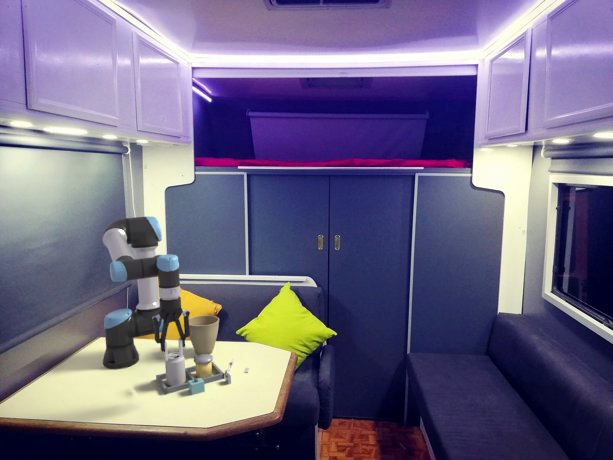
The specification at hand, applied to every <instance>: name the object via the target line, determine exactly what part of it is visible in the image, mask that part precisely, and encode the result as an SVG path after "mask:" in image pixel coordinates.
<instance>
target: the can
mask: <svg viewBox="0 0 613 460" xmlns="http://www.w3.org/2000/svg"><path fill="white" fill-rule="evenodd" d="M164 365H165V373H166V379H165V380H166V382H165V383H166V384H167V385H168V387H172V386H176V385H179V384H183V383H186V380H187V379H186V378H187V376H186V374H185V368H186V361H185V356H184V355H183V357H181V356H180V355H179V351H177V352H176V351H175V352H171V353H168V361H166V360H165V359H164Z"/></svg>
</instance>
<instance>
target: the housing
mask: <svg viewBox="0 0 613 460" xmlns="http://www.w3.org/2000/svg"><path fill="white" fill-rule="evenodd" d="M211 363H212V371H214V372H215V373H216V374H214V375H212V376H210V377H206V378H202V380H203V381H204V385H206V384H210V383H214V382H217V381H221V380H225V373H224V372H223V370H221V369H220V368H219V367H218V365H217V364H216V363H215V362H214V361H211ZM192 373H196V365H193V366H189V367H185V374H186V378H187V379H188V381H190V380H194V378H195V377H194V376H193V374H192ZM155 378H156V382H157V384H158V385H159V387H160V388H161V389H162V391H163V394H165V395H168V394H173V393H176V392H180V391H184V390H187V389H188V390H189V384H188V381H187V382H184V383H183V384H179V385H176V386H168V387H167V386H166V384H165V383H164V381H163V380H166V372H165V373H161V374H157V375H155Z"/></svg>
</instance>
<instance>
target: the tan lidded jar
mask: <svg viewBox="0 0 613 460" xmlns="http://www.w3.org/2000/svg"><path fill="white" fill-rule="evenodd" d="M213 359H214V357H213V355H212V354H201V355H196V356H195V357H193V362H194V364H195V366H196V371H195V374H196V375H195V378H206V377H210V376H213V369H212V363H211V362H213Z"/></svg>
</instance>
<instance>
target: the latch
mask: <svg viewBox="0 0 613 460" xmlns="http://www.w3.org/2000/svg"><path fill="white" fill-rule="evenodd" d="M187 382H188V384H189V388H188V391H189V393H190V394H191V395H192V396H193V395H197V394H200V393H205V392H206V390H205V387H206V386H205V384H204V381H203V380H202V378H197V377H194V380H188V381H187Z"/></svg>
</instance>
